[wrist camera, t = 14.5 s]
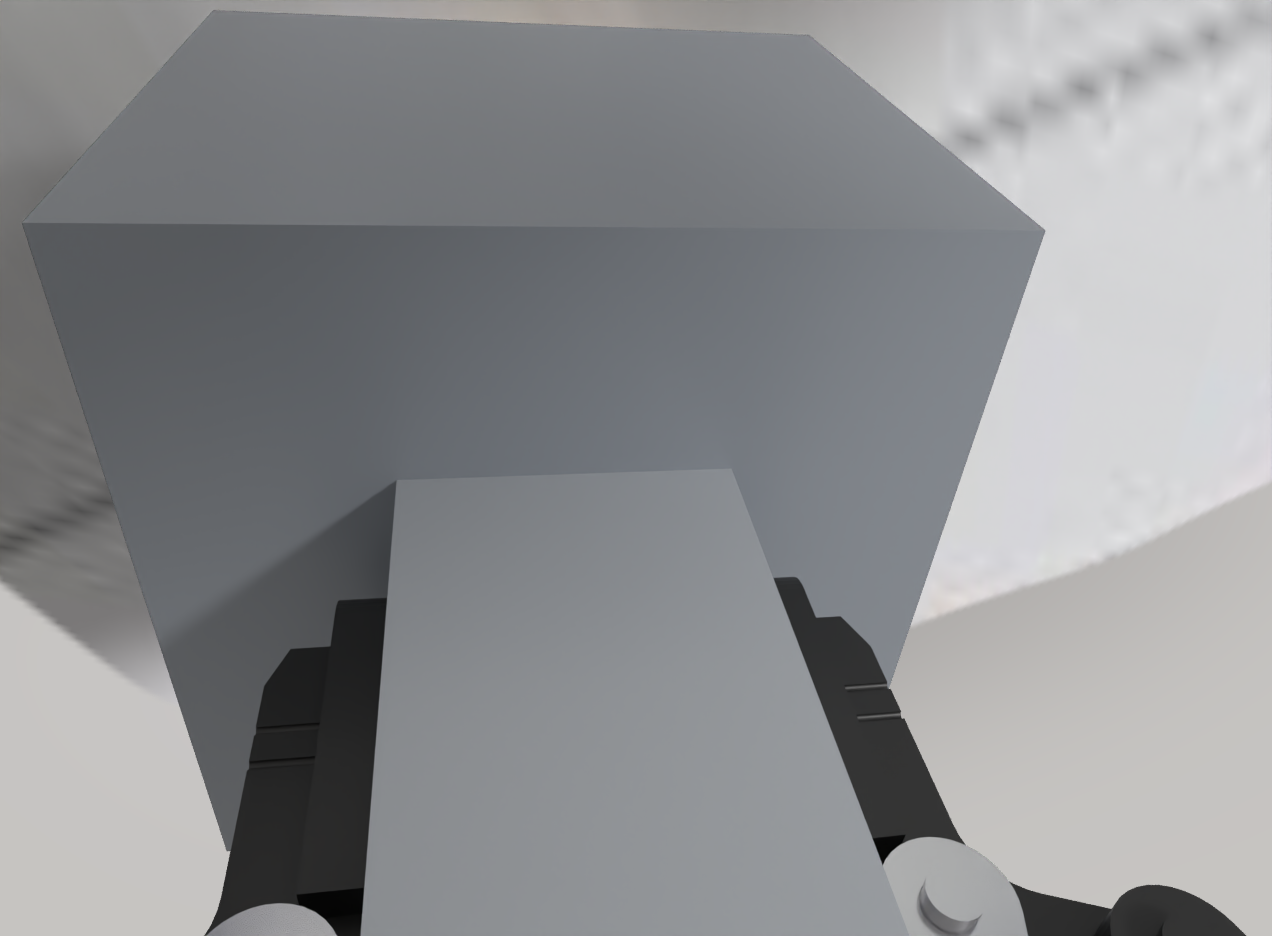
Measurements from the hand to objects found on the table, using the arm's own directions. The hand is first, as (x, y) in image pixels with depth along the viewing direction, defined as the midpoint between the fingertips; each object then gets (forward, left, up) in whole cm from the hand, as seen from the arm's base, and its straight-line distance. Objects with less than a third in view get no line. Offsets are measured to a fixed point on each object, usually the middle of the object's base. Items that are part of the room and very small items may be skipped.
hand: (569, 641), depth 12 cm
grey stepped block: (0, 0, -10) cm, 10 cm away
